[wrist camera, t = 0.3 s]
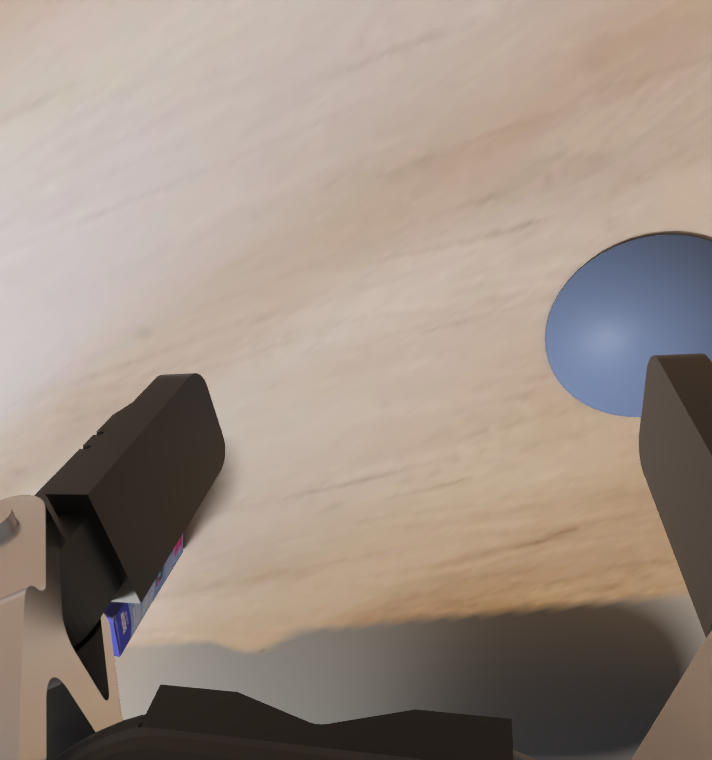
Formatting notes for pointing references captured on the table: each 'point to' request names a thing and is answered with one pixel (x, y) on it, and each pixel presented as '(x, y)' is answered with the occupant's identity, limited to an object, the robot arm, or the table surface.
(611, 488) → the table surface
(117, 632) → the ink cartridge box
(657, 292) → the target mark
